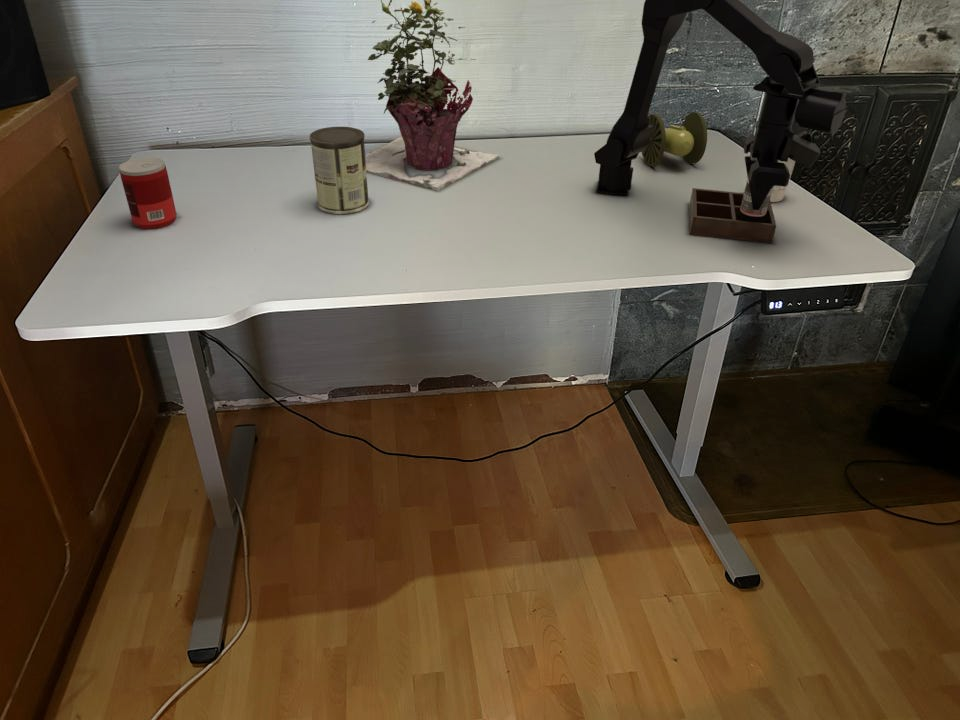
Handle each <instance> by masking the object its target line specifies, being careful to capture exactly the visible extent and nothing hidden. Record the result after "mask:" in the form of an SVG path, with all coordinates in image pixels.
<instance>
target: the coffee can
mask: <svg viewBox="0 0 960 720" xmlns="http://www.w3.org/2000/svg"><path fill="white" fill-rule="evenodd" d="M365 137H366V136H365V132H364V131H362V130H361V129H358V128H356V127H350V126H329V127H322V128H319V129H316V130H314V131H312V132H311V133H310V134H309V141H310V147H311V155H312V164H313V172H314V181H315V190H316V199H317V208H318V209H319V210H321V211H322V212H325V213H328V214H335V215H350V214H354V213H359V212H361V211H363V210H365V209H367V207H369V204H370V200H369V189H368V188H369V187H368V178H367V177H368V176H367V172H366V160H365V155H366V149H365Z"/></svg>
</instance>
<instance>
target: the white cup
mask: <svg viewBox="0 0 960 720" xmlns="http://www.w3.org/2000/svg"><path fill="white" fill-rule="evenodd" d="M778 162H779V163H784V164H785V165H786V167H787V168H788V170H789V173H790V178H789V182H788V185H787V186H773V190H772V193H771V197H770V202H771V203H777V202H781V201H782V200H783V199H784V198H785V195H786V191H787V188H788V186H789V184H790V180H791V177H792V175H793V171H794V169H795V166H796V165H795V164H796V163H797V162H796V161H793V160H791V159H790V158H788V161H787V162H784V161H780V160H778Z"/></svg>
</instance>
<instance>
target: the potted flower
mask: <svg viewBox="0 0 960 720" xmlns="http://www.w3.org/2000/svg"><path fill="white" fill-rule="evenodd" d="M380 2H381V3H380V4H381V10H382V12H383V13H386V14H387V15H389V16H391V17H392V18H394V20H395V21H396V22H397V23H394V24H393V23H390V24H389V25H388V26H387V27H386V30H387V31H388V30H391V29H392V28H395V29H397V30H399V32H398V33H399V34H396V35H395V36H394V37H393V38H392V39H390V38H388V39H384V40H382V41H378V42H376V45H373V47H372V48H371V50H375V51H376V53H372V54H370V56H368V57H367V61H374V60H378V59H379V58H380V57H381V56H385V55H387V54H389V55H392V59H391V60H390V62H391V63H390V65H391V68H390V67H388V68H387V69H385V71H384V72H382V75H384V76H385V77H381V78H380V79H379V81H378V82H377V84H379V83H381V82H382V81H383V82H384V84H385V86H384V89H385V91H384V92H379V93H378V94H377V96H378V98H377V100H378V101H381V100H383V99H384V98H385V97H388V99H387V102H386V105H385V109H384V111H383V114H385V113H386V111H388V113H389V114H390V115H391V116H392V118H393V119H394V121H395V122H396V123H397V125H398V129H399V132H400V137H398V138H396V139H395V138H394V139H393V140H391V142H389V143H387V144H386V145H384V146H382V147H380V148H377V149H375V150H373V151H370V152H368V153H367V154H365V160H366V173H370V174H373V175H377V176H379V177H384V178H388V179H392V180H396V181H400V182H402V183H407V184H411V185H414V186H418V187H422V188H425V189H429V190H433V191H436V192H439V191H441V190H442V189H444V188H447V187H448V186H450V185H451V184H454V183H455V182H457V181H459V180H462V179H463V178H465V177H466V176H468V175H470V174H472V173H474V172H476V171H478V170H479V169H481V168H483V167H485V166H487V165H489V164H491V163H493V162H494V161H497V160H498V159H499V158H500V157H499V156H500V155H499V154H496V153H495V154H493V153H486V152H483V151H471V150H469V149H468V148H465V149H463V148H459V147H455V142H456V136H457V129H458V125H459V123H460V122H461V120H462V118H463V116H464V115H465V114H466V113H467V112H468V111H469V109H470V108H471V105H472V103H473V100H474V98H473V96H472V94H471V92H472V88H473V87H472V84H471V82H470V80H469V79H467V80H466V84H465V87H464V90H463V91H462V95H463V97H462V96H461V95H459V88H458V87H457V85H455V84H454V82H456V81H457V80H453V79H451V78H449V77H448V76H446V75H445V73H443V71H442V69H443V67H444V63H445V61H446V62H447V63H448V64H449V65H452V66H453V65H455V64H456V62H455V61H456V60H455V56H456V54H455V53H451V50H449V51H448V52H447V53H448V54H450V53H451V56H450V55H447V53H446V52H445V51H442V52H441V51H440V50H436V49H435V48H434V42H435V39H437V40H439V39H441V38H442V39H441V41H440V43H444V41H445V42H447V45H448V46H449V48H451V44H450V41H449V40H448V39H450V40H453V41H455V42H458V39H456V38H454V37H451V36H446V33H445V31H439V30H440V29H441V30H443V27H444V26H445V27H448V24H447V23H446V22H445V21H444V20H446V21H448V22H450V21H452V22H453V21H454V18H446V17H444V16H442V15H444V14H445V12H444V11H443V10H442V9H439V8H437V7H435V8H433V7H434V6H436V5H438V2H435V3H433V5H431V4H432V0H423V3H424V9H425V10H426V11H423V7H422V5H420V3H419V2H416V1H412V0H411V4H410V5H409V4H407V6H408V7H404V8H402V7H400V9H394V10H393V13H394V12H401V15H402V17H403V20H402V21H401V22H400V21H399V20H398V18H397V17H395V15H394V14H392V12H391V11H390V8H389V7H390V6H391V4H392V2H393V0H389V2H388V5H387V4H385V3H384V2H383V1H382V0H380ZM405 13H408V14H409V15H408V17H407V16H406V17H405ZM423 14H424V15H423ZM427 19H430V20H427ZM438 21H439V22H438ZM443 21H444V22H443ZM375 22H376V20H373V21H372V22H371V24H374V23H375ZM440 22H443V24H444V26H443V25H440ZM421 23H423V24H421ZM396 25H398V26H400V27H398V26H396ZM412 28H413V31H412V33H411V32H410V31H409V30H410V29H412ZM418 28H420V29H428V30H429V33H428V32H425V31H422V30H420V31H417V35H424V36H425V37H424V38H422V39H420V37H417V36H415V35H414V33H415V31H416V29H418ZM431 28H433V29H431ZM457 28H458V29H459V30H460V29H465V28H466V27H465V26H458V27H457ZM453 29H455V27H454V26H453ZM402 32H403V33H404V35H405V36H404V35H403V34H402ZM399 39H401V40H402V41H400V42H398V40H399ZM405 41H406V43H405ZM409 41H411V42H409ZM404 44H406V45H404ZM401 45H404V46H401ZM427 49H429V50H430V49H431V51H432V56H433V68H432V72H431V74H430V75H428V74H429V72H428V71H426V70H425V68H424V62H425V61H424V56H423V50H427ZM418 50H420V55H421V61H420V63H419V65H418V64H417V65H416V64H413V63H409V61H413V60H415V57H416V56H417V55H418V52H417V51H418ZM382 52H383V53H382ZM435 55H436V56H437V58H436V56H435ZM447 57H448V58H447ZM403 58H405V60H406V61H404V60H403ZM446 58H447V59H446ZM461 60H462V61H463V60H465V61H466V58H463V57H461V58H458V59H457V61H461ZM472 60H473V61H476V59H475V58H471V61H472ZM436 64H439V65H441V67H439V66H437V67H436ZM420 67H421V68H420ZM435 68H436V69H435ZM396 74H397V75H396ZM426 74H427V75H426ZM417 79H419V80H417ZM413 80H415V81H413ZM394 81H395V82H394ZM452 91H453V94H452ZM457 95H459V96H458V97H457ZM448 97H449V98H448ZM456 101H457V102H456ZM445 107H446V108H445ZM455 151H457V152H458V153H457V154H454V152H455ZM404 159H406V163H407V165H408V167H410V168H413V169H415V170H422V171H438V170H440V169H441V170H442V169H445V168H447V170H446V174H444V175H443V176H441V177H439V178H433V177H432V175H430V174H428V175H416V176H412V177H410V176H408V174H407V173H406V172H405V171H406V170H405V160H404ZM453 159H455V160H456V161H457V164H456V165H455V164H454V166H451V165H452V164H453ZM449 166H450V168H449Z"/></svg>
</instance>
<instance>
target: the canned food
mask: <svg viewBox="0 0 960 720" xmlns="http://www.w3.org/2000/svg"><path fill="white" fill-rule="evenodd" d="M118 171H119V175H120V180H121V183H122V188H123V191H124V194H125V198H126V202H127V205H128V209H129V213H130V217H131V221H132V223H133V224H134V225H135V226H136V227H137V228H140V229H144V230H145V229H146V230H150V229H151V230H153V229H160V228H163V227H167V226H169V225H171V224H172V223H175V221H176V219H177V209H176V206H175V201H174V195H173V191H172V188H171V181H170V178H169V174H168V169H167V165H166V163H165V160H164V159H161V158H159V157H150V156H149V157H138V158H133V159H130V160H125V161H124V162H122V163H121V164H119V166H118Z"/></svg>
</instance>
